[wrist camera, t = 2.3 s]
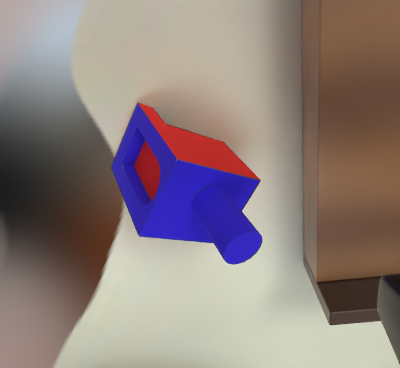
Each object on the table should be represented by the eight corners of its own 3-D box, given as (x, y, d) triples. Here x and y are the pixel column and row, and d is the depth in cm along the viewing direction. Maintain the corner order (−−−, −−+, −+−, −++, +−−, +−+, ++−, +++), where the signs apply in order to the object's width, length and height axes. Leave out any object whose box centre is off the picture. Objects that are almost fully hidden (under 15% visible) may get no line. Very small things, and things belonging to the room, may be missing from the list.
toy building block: (180, 181, 19) (252, 291, 13) (110, 166, 17) (160, 293, 11) (208, 127, 18) (302, 222, 12) (136, 102, 15) (210, 207, 10)
